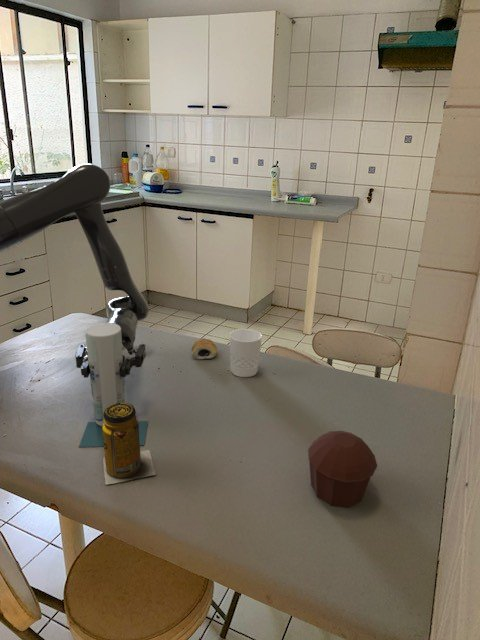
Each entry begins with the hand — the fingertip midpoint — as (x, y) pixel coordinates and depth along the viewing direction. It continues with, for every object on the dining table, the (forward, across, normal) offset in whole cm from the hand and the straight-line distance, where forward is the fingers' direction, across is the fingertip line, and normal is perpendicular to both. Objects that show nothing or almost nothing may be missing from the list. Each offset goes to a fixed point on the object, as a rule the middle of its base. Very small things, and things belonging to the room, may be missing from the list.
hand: (104, 373), depth 88 cm
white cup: (-23, +30, +13) cm, 39 cm away
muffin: (+20, +42, +12) cm, 47 cm away
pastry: (-33, +20, +13) cm, 40 cm away
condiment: (+12, +6, +12) cm, 18 cm away
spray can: (-2, 0, +12) cm, 12 cm away
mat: (+2, +2, +12) cm, 13 cm away
